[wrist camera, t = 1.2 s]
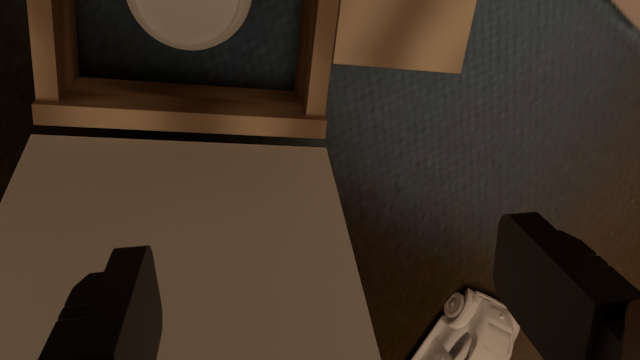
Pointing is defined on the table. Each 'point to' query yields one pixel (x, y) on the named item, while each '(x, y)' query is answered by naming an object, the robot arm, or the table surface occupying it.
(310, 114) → the open wooden box
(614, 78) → the table surface
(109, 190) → the lid
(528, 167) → the table surface
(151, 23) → the pill bottle
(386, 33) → the flat wooden board
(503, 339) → the car
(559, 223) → the table surface
